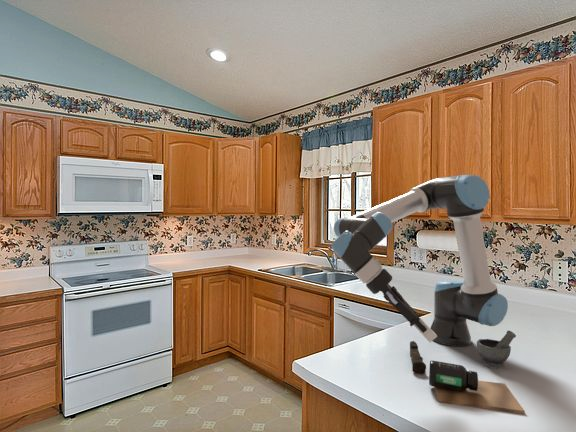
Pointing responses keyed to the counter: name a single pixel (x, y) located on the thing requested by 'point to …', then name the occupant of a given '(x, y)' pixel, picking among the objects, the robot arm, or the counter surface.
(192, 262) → the counter surface
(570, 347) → the counter surface
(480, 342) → the mortar and pestle
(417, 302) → the counter surface
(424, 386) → the counter surface
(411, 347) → the hand tool
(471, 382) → the supplement bottle
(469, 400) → the cutting board
